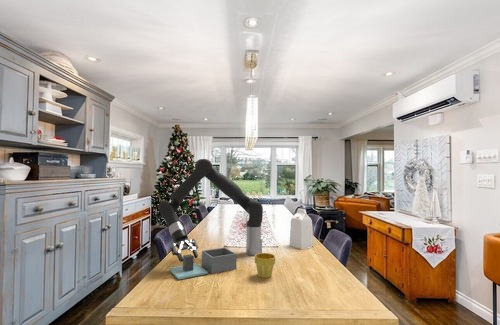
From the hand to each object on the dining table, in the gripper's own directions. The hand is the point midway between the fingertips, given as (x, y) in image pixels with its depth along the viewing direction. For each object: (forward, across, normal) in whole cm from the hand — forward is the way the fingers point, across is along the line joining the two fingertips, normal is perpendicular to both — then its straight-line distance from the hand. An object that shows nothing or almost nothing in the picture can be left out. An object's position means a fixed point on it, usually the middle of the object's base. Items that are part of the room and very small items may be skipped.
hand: (189, 259), depth 138 cm
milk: (+12, +86, -2) cm, 87 cm away
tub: (+7, +16, +3) cm, 18 cm away
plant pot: (+25, +25, -15) cm, 39 cm away
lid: (+4, 0, +6) cm, 7 cm away
